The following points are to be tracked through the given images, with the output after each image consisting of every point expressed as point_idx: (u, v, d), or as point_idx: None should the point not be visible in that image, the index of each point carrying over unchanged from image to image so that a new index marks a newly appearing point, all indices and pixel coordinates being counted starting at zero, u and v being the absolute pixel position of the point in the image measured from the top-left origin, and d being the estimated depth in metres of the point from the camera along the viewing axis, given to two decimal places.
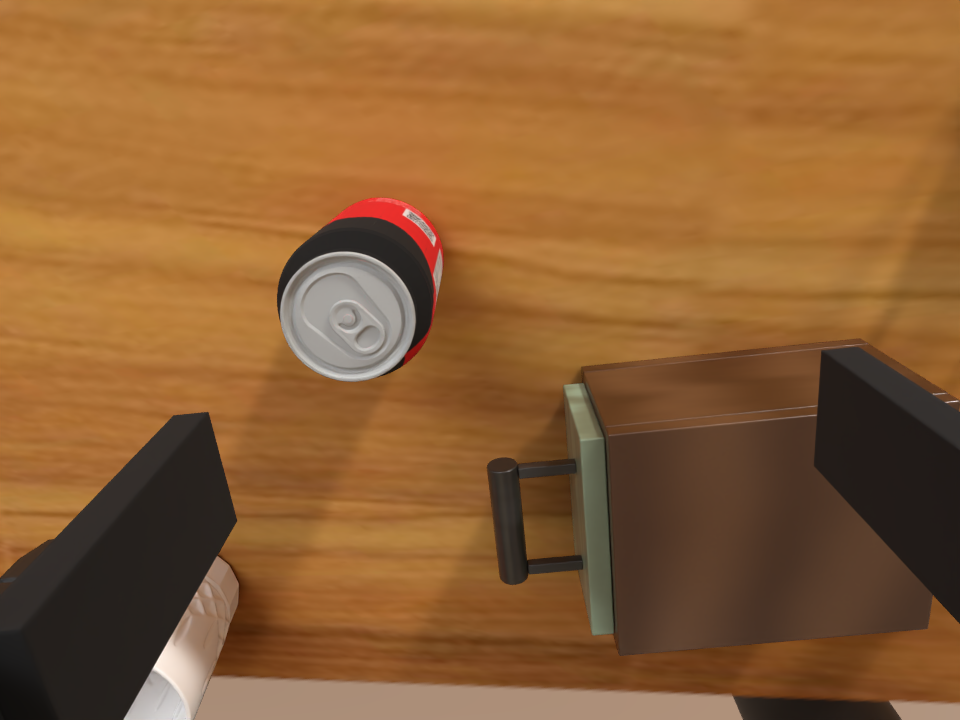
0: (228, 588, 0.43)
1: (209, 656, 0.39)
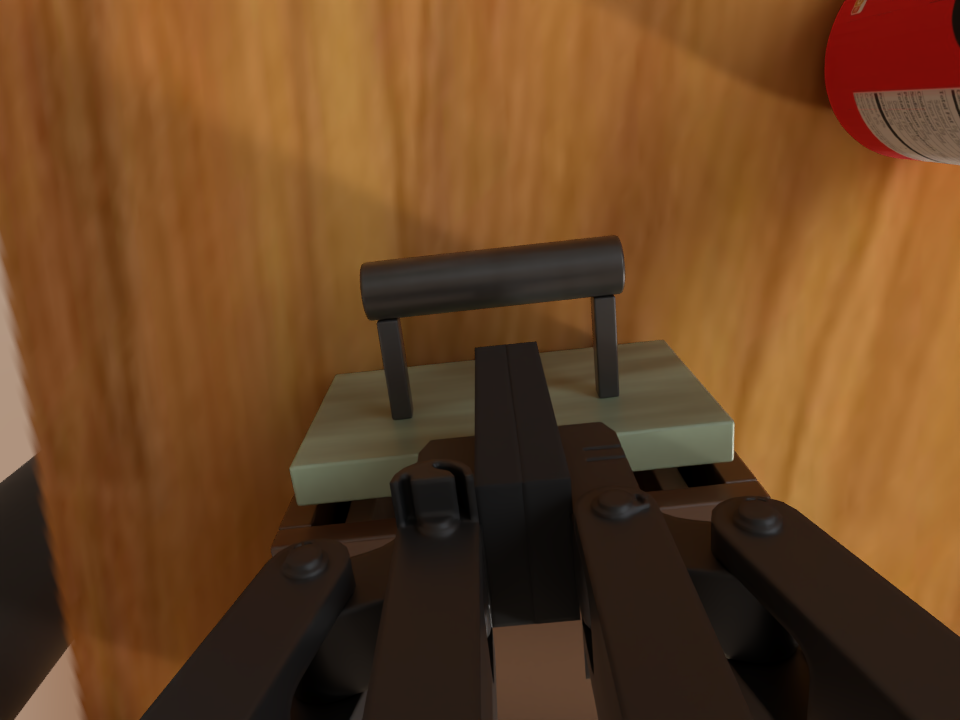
0: None
1: None
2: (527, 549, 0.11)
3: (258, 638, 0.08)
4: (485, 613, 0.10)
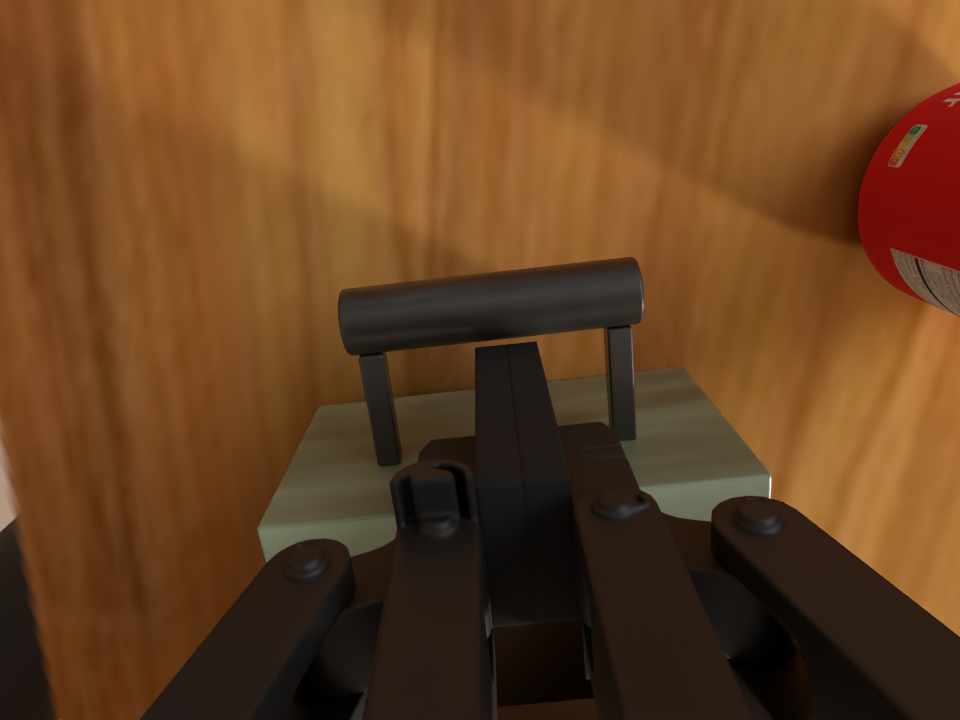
0: None
1: None
2: (527, 549, 0.11)
3: (258, 638, 0.08)
4: (485, 613, 0.10)
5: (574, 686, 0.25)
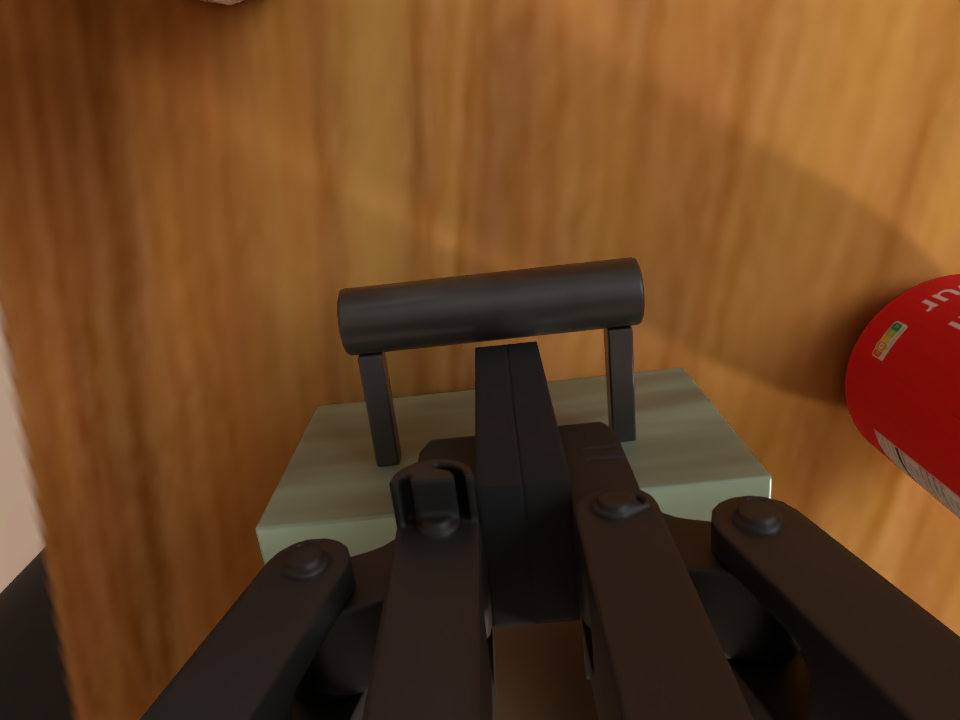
0: None
1: None
2: (527, 549, 0.11)
3: (258, 638, 0.08)
4: (485, 613, 0.10)
5: (573, 688, 0.25)
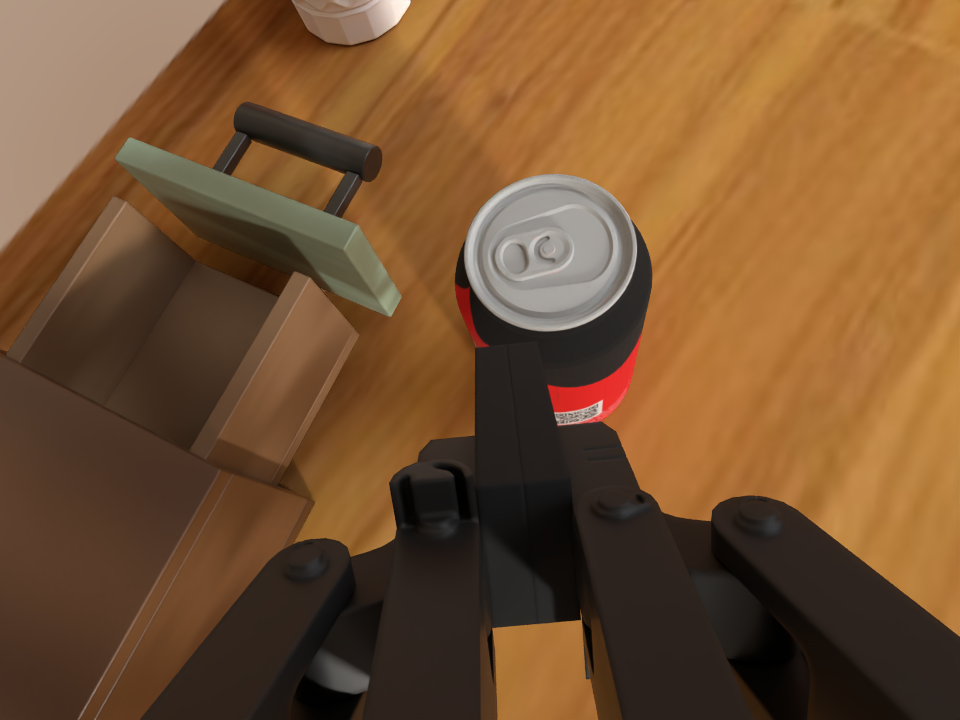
0: (329, 26, 0.38)
1: None
2: (527, 549, 0.11)
3: (258, 638, 0.08)
4: (485, 613, 0.10)
5: None
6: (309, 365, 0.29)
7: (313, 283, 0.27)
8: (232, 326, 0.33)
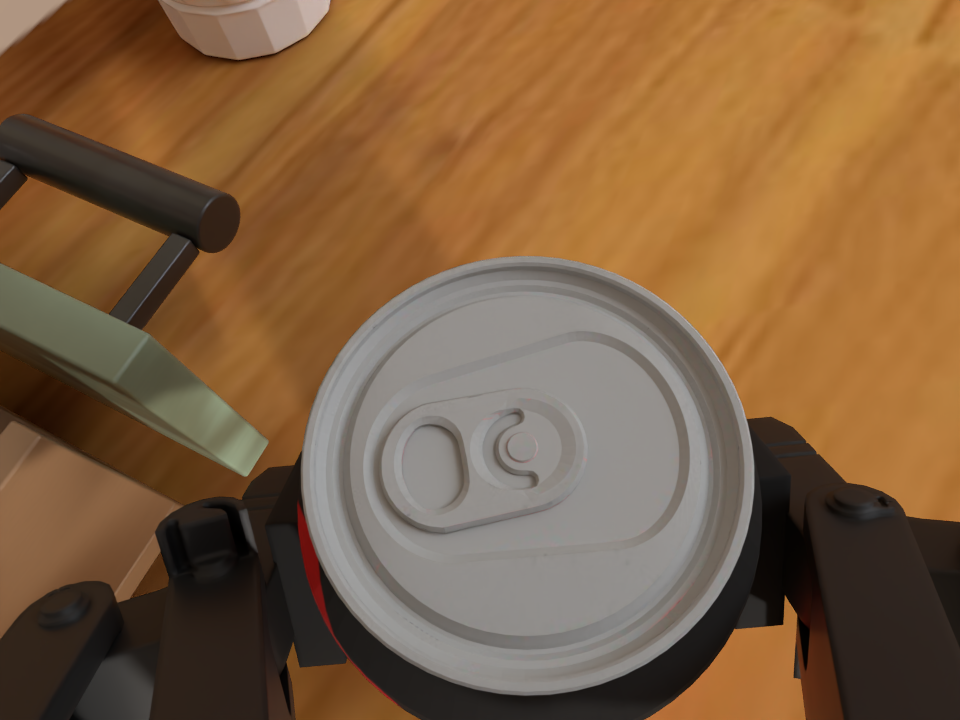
0: (205, 29, 0.27)
1: None
2: None
3: (12, 692, 0.08)
4: (276, 647, 0.10)
5: None
6: (61, 586, 0.15)
7: (50, 445, 0.14)
8: None
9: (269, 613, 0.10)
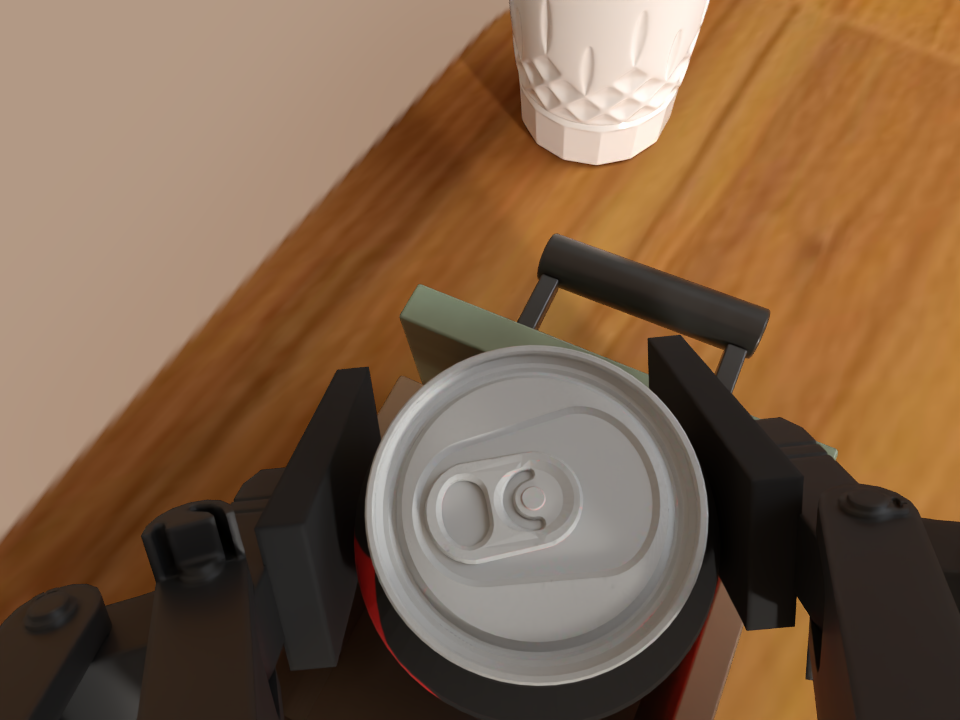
0: (581, 141, 0.30)
1: (568, 45, 0.25)
2: (748, 551, 0.11)
3: None
4: (264, 650, 0.10)
5: None
6: None
7: None
8: None
9: (258, 616, 0.10)
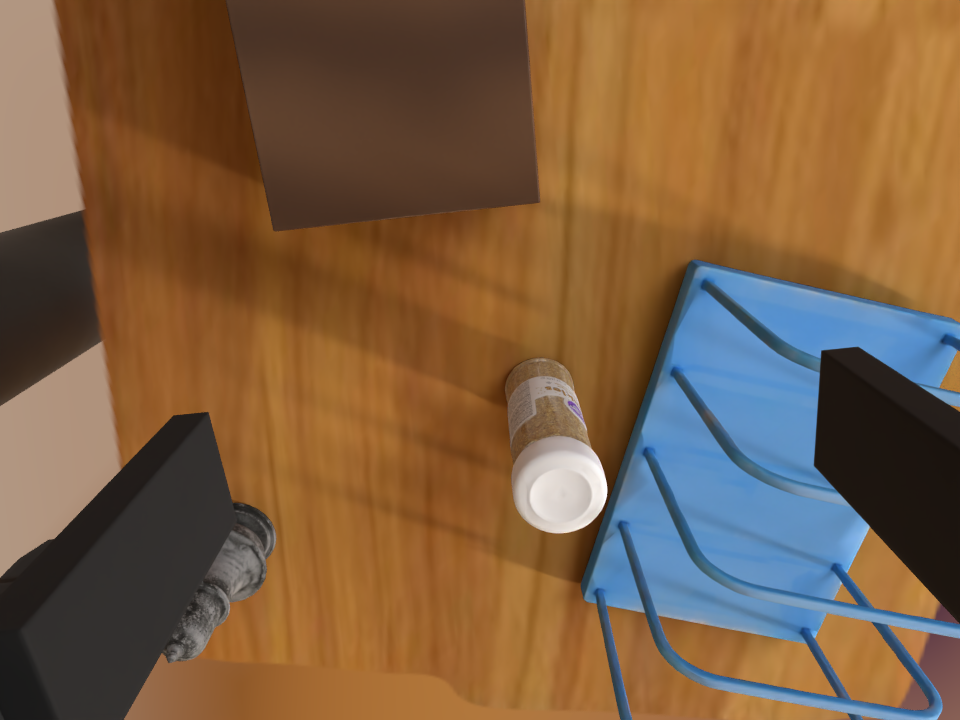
0: None
1: None
2: None
3: None
4: None
5: None
6: None
7: None
8: None
9: None
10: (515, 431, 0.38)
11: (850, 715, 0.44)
